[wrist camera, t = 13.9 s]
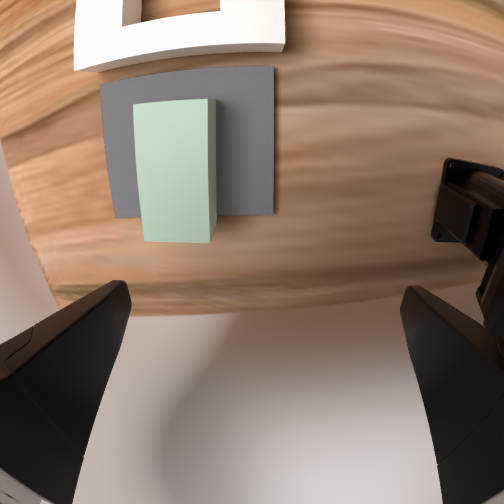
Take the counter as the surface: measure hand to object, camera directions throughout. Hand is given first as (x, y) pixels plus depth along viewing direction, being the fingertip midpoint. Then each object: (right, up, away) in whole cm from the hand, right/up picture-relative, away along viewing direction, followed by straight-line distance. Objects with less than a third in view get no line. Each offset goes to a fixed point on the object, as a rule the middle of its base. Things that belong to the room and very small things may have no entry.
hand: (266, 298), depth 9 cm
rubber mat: (-5, +8, +9) cm, 13 cm away
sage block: (-5, +7, +9) cm, 12 cm away
